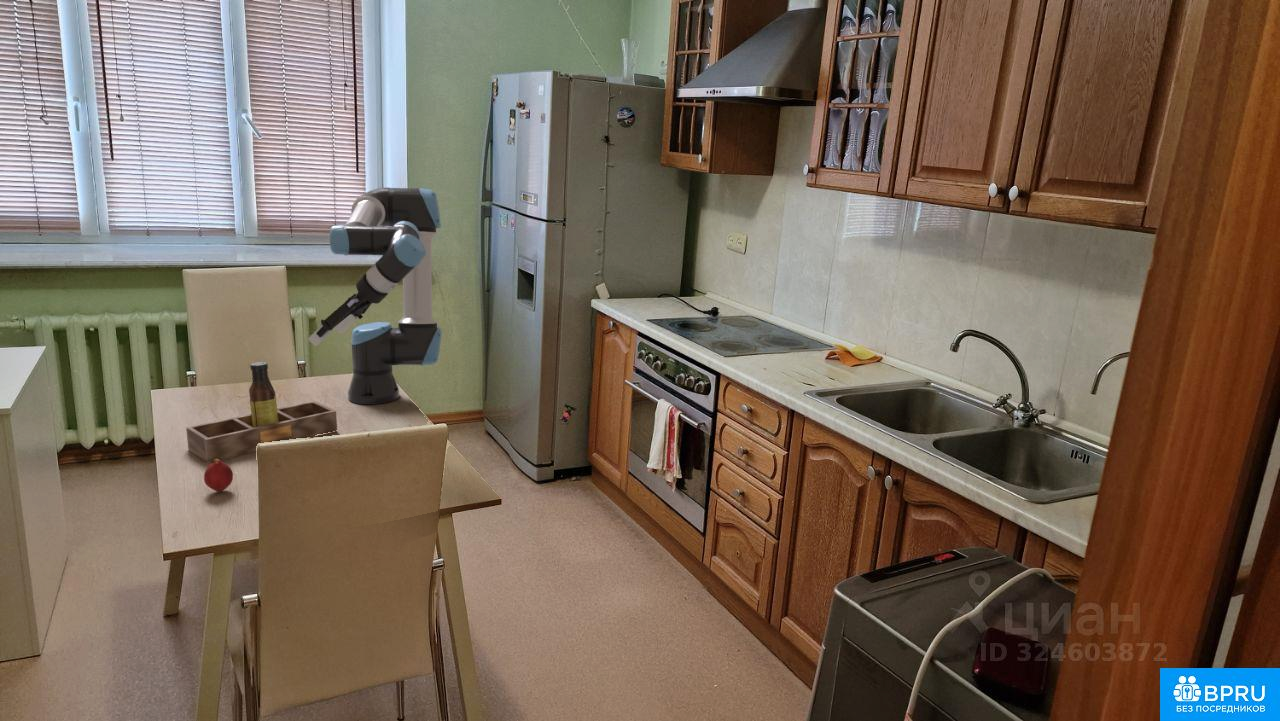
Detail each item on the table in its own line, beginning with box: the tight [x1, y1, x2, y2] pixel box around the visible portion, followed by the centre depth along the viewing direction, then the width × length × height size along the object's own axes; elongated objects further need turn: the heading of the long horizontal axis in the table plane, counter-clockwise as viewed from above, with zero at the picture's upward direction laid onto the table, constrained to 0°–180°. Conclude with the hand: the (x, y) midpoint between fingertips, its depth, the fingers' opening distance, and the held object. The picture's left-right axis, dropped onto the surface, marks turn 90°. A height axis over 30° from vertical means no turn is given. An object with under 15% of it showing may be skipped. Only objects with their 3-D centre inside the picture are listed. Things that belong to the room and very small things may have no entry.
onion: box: [203, 459, 234, 493], centre depth 185 cm, size 6×6×8 cm
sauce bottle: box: [248, 361, 278, 428], centre depth 215 cm, size 7×6×20 cm
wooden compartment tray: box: [185, 400, 338, 464], centre depth 217 cm, size 34×12×6 cm, turn 139°
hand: (325, 336), depth 217 cm, fingers open, 13 cm apart
